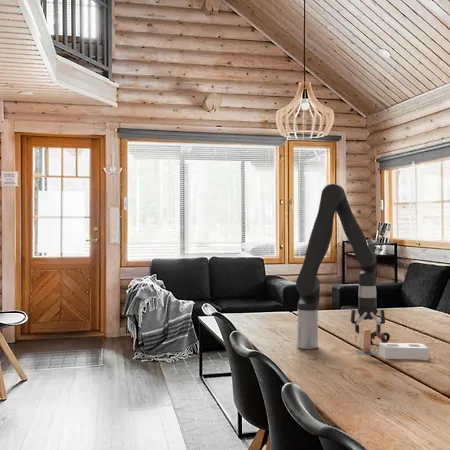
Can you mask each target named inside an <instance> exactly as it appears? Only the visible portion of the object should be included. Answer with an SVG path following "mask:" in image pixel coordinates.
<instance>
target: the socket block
mask: <svg viewBox="0 0 450 450" xmlns="http://www.w3.org/2000/svg"><path fill="white" fill-rule="evenodd" d="M378 345H379V350H378V352H379V353H378V354H379V356H381V357H382V358H383V359H387V360H391V359H392V360H394V359H395V360H422V361H429V360H430V359H429V357H430V348H429V347H428V346H427V345H425V344H423V343H417V342H416V343H414V342H413V343H412V342H410V343H409V342H406V343H405V342H387V343H382V342H379V344H378Z"/></svg>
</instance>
